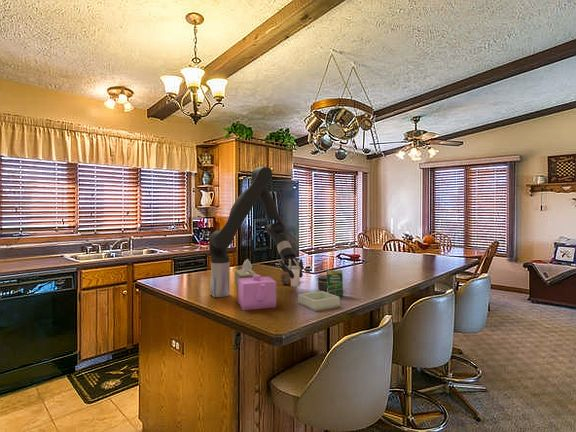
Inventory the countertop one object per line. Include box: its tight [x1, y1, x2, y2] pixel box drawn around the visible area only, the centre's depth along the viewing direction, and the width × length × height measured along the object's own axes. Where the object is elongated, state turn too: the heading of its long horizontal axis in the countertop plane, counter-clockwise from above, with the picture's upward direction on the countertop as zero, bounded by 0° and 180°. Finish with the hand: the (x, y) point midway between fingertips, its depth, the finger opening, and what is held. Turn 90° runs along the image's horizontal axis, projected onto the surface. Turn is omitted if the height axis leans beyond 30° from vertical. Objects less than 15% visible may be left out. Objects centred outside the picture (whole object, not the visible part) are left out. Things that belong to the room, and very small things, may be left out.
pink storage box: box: [237, 274, 277, 311], centre depth 160 cm, size 15×25×14 cm, turn 18°
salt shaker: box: [290, 266, 301, 287], centre depth 179 cm, size 4×4×10 cm
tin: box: [280, 270, 291, 285], centre depth 209 cm, size 15×3×8 cm, turn 143°
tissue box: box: [234, 258, 259, 287], centre depth 202 cm, size 19×10×16 cm, turn 19°
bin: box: [297, 290, 341, 312], centre depth 160 cm, size 14×14×4 cm
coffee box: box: [326, 269, 344, 298], centre depth 177 cm, size 8×3×13 cm, turn 90°
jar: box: [317, 274, 327, 293], centre depth 189 cm, size 10×10×8 cm
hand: (297, 277), depth 178 cm, fingers closed on salt shaker, 4 cm apart
